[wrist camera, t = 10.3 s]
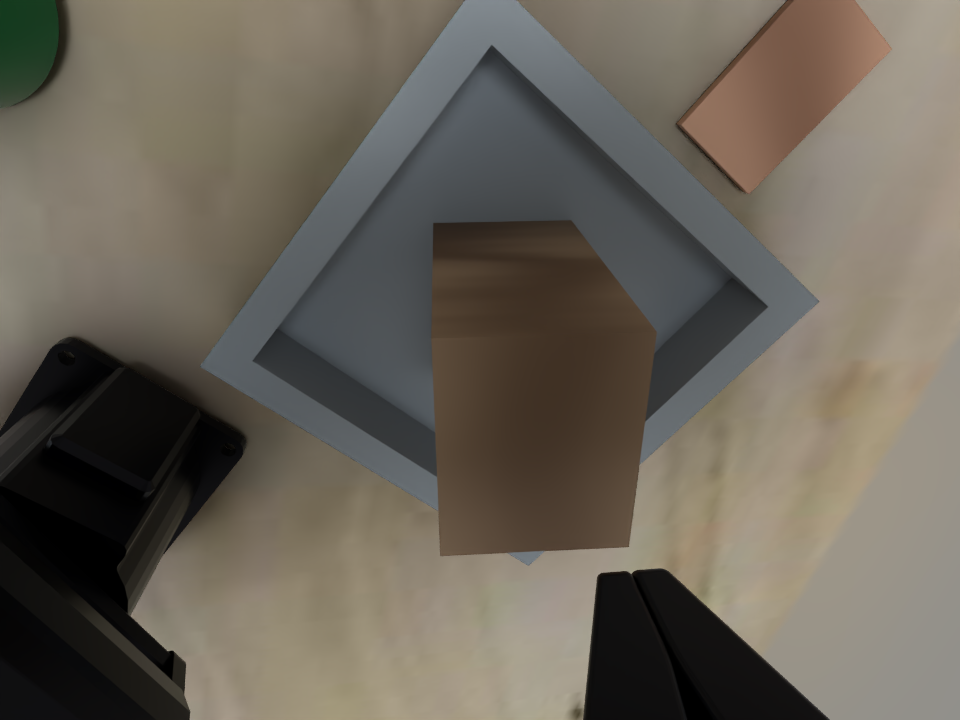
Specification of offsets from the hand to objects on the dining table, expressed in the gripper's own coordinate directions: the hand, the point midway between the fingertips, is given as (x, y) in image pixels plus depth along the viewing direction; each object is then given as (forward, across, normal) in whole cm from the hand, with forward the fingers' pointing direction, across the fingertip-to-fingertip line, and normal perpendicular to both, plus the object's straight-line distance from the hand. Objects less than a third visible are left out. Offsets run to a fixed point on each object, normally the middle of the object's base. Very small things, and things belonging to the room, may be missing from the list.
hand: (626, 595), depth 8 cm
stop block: (+12, 0, +1) cm, 13 cm away
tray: (+13, 0, +1) cm, 13 cm away
